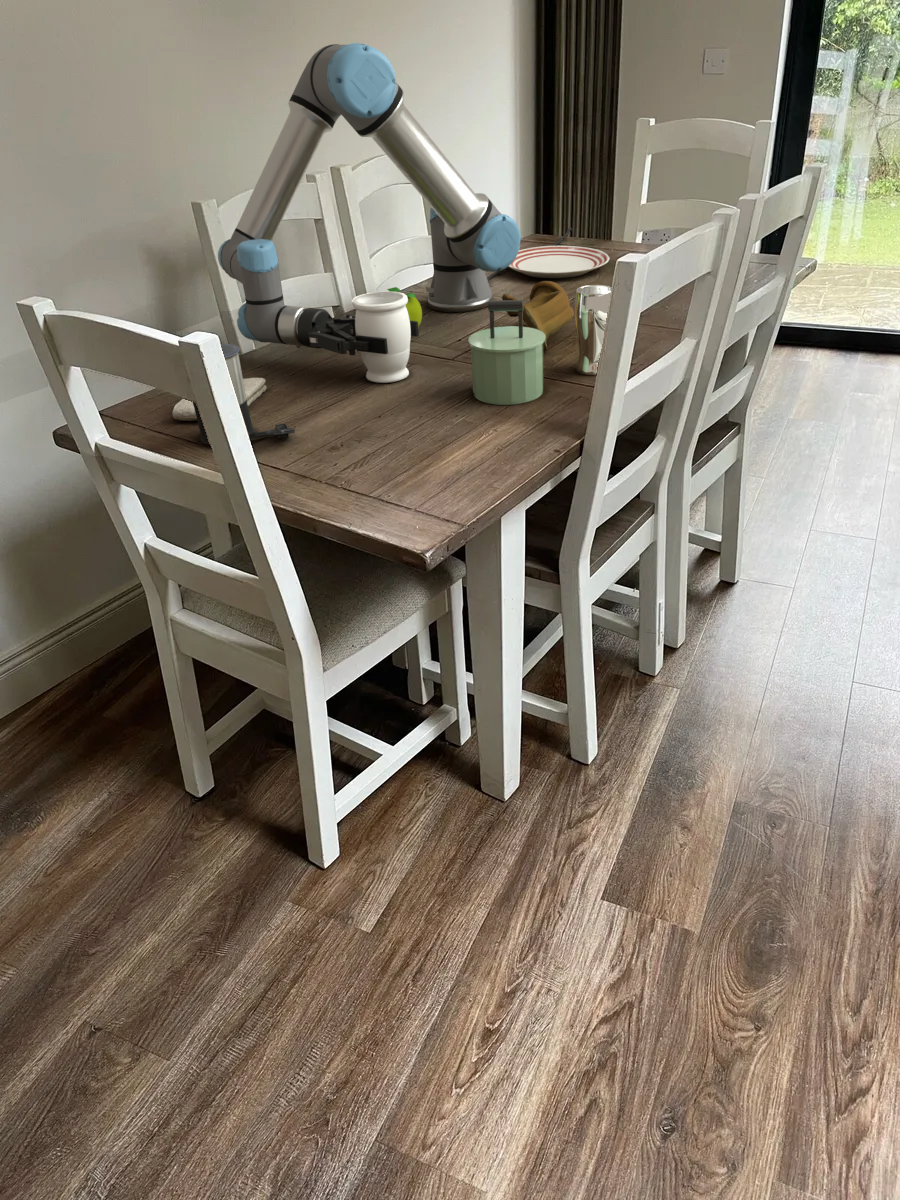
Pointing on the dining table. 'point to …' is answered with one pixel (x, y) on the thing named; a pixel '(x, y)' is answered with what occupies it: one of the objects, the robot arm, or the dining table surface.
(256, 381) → the washcloth
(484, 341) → the pot lid
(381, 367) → the jar
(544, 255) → the dinner plate
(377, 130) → the robot arm
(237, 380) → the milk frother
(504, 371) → the pot
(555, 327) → the brown looped sculpture
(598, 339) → the beer glass
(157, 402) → the dining table surface
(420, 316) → the fruit
